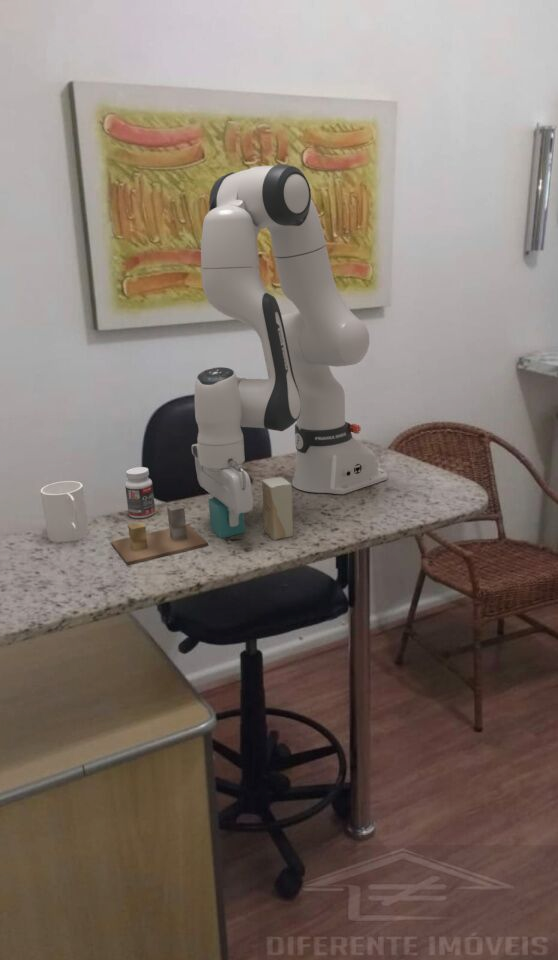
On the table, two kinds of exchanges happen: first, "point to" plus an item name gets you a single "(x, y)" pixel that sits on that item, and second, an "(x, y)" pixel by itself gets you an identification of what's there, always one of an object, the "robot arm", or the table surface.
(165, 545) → the stand
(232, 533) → the teal rectangular block
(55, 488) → the cup
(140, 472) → the pill bottle
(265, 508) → the box
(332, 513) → the table surface
